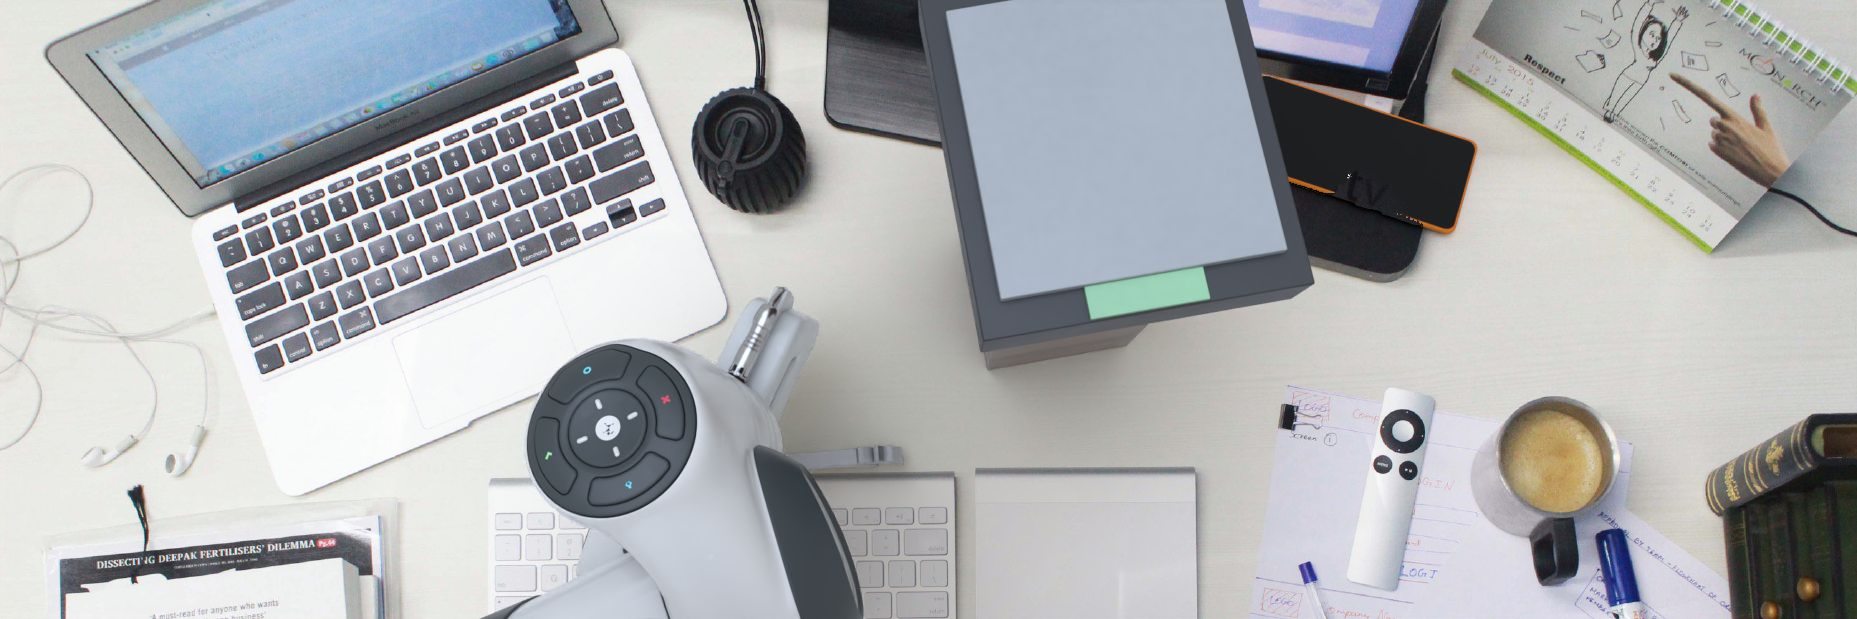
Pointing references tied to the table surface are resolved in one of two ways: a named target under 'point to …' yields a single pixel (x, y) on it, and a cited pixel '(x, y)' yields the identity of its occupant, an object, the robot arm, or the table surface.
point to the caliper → (851, 457)
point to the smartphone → (1371, 151)
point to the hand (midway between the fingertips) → (743, 463)
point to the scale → (1109, 163)
